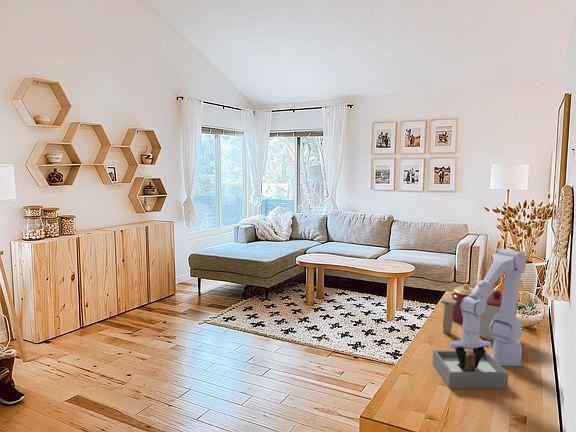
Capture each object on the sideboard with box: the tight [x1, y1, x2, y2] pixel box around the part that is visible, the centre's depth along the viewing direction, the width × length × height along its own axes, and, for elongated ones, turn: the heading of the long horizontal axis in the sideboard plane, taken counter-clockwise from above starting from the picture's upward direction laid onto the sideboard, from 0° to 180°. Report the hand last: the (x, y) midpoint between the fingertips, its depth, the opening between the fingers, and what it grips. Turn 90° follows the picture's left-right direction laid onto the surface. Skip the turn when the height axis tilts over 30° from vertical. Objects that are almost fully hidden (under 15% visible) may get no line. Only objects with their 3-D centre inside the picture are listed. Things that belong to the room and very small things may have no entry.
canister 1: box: [450, 283, 475, 325], centre depth 223 cm, size 13×13×18 cm
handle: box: [440, 297, 457, 335], centre depth 206 cm, size 5×6×15 cm
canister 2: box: [479, 289, 521, 342], centre depth 202 cm, size 18×18×21 cm
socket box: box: [431, 349, 509, 390], centre depth 167 cm, size 20×18×6 cm
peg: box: [462, 352, 476, 372], centre depth 167 cm, size 4×4×6 cm
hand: (468, 366), depth 167 cm, fingers closed on peg, 4 cm apart
